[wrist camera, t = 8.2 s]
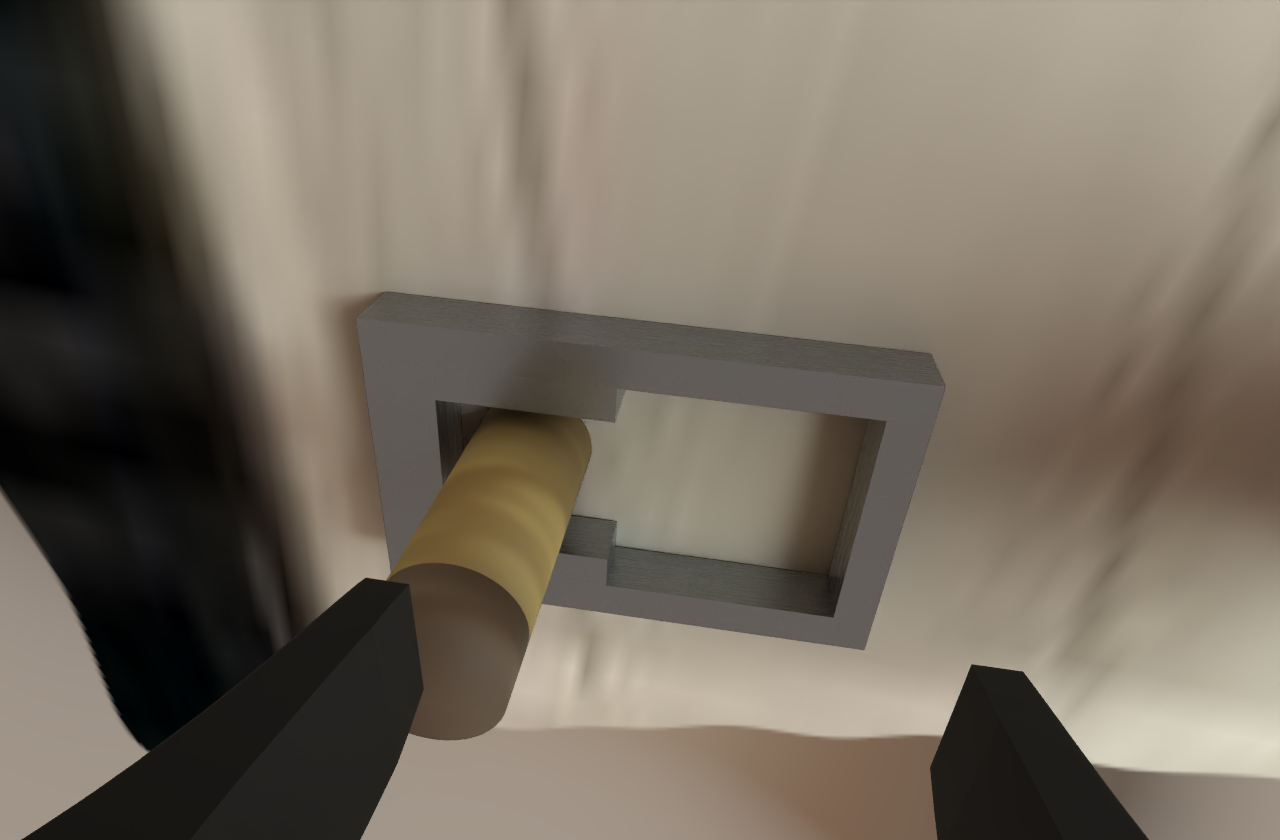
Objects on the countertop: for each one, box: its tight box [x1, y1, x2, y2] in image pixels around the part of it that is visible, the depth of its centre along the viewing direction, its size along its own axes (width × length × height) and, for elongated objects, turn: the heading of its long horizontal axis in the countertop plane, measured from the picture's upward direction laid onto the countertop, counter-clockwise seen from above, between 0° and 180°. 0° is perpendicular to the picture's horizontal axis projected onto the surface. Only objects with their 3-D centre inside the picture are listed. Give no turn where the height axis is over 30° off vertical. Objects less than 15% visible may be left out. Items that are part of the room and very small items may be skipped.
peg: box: [386, 407, 592, 740], centre depth 17 cm, size 3×3×8 cm
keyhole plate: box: [356, 292, 946, 650], centre depth 20 cm, size 13×8×2 cm, turn 86°
